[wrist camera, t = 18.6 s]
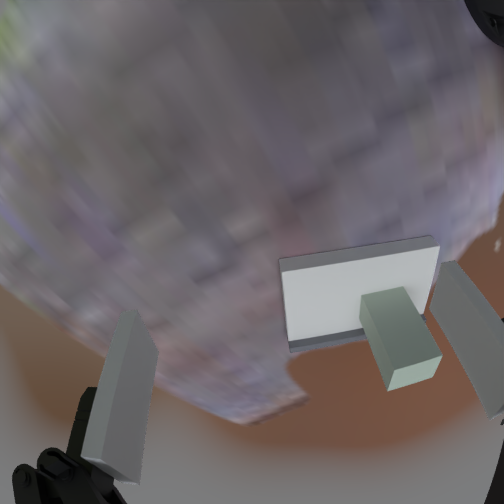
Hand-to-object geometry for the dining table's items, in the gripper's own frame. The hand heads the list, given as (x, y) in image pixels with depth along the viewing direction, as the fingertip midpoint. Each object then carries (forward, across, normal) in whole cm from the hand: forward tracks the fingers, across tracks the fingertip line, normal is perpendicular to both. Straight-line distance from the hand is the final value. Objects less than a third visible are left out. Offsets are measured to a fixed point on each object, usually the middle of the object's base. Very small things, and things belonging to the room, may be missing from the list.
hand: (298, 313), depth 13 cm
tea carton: (+24, +16, -25) cm, 38 cm away
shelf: (+27, +13, -23) cm, 38 cm away
